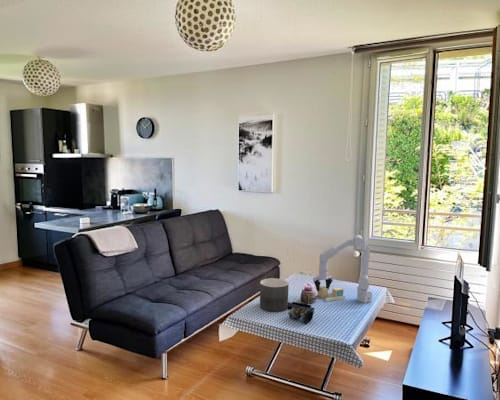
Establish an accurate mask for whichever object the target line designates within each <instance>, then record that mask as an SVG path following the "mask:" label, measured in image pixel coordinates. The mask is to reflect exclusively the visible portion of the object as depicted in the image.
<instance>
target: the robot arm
mask: <svg viewBox="0 0 500 400" xmlns="http://www.w3.org/2000/svg"><path fill="white" fill-rule="evenodd" d="M348 247H357V248H359V249H360V250H361V251H362V252H361V263H360V273H359V277H358V279H357V282H358V283H357V284H358V286H357V288H356V289H357V290H356V291H357V293H356V300H357V301H358V302H362V303H363V304H369V303H372V301H373V293H372V291H371V290H370V288H369V287H370V284H369V282H368V281H369V276H368V275H369V264H370V254H371V248H370V246H369V244H368V242H367V241H366V239H365V238H364V237H363V236H362V235H361V234H355V235H354V236H351V237H350V238H348V239H346V240H345V241H343V242H342V243H341V244H339V245H337V246H330V247H329V248H328V249H327V250H324V251H323V252H321V253H320V254H319V266H318V267H319V268H318V276H315V277H313V283H314V286H315V287H316V288H315V289H316V291H317V292H318V291H319V289H320V286H321V284H322V283H321V281H324V280H325V287H326V288H328V291H329V290H330V286H331V284H332V283H333V279H334V277H333V275H329V271H328V270H329V263H328V261H329V260H330V259H332V258H334V257H336V256H337V255H339V254H340V253H339V252H340V251H342V250H344V249H346V248H348Z"/></svg>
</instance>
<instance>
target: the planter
mask: <svg viewBox="0 0 500 400" xmlns="http://www.w3.org/2000/svg"><path fill="white" fill-rule="evenodd" d="M259 285H260V286H259V308H260V309H261V310H263V311H265V312H271V313H277V312H278V313H279V312H284V311H286V310H287V309H288V307H289V306H288V305H289V281H287V280H286V279H283V278H277V277H276V278H274V277H271V278H264V279H261V280H260V281H259Z"/></svg>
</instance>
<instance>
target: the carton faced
mask: <svg viewBox="0 0 500 400" xmlns="http://www.w3.org/2000/svg"><path fill="white" fill-rule="evenodd" d="M331 291H332V292H331V293H332V297H338V296H344V288H342V287H334V288H332V290H331Z"/></svg>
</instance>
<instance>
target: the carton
mask: <svg viewBox="0 0 500 400" xmlns="http://www.w3.org/2000/svg"><path fill="white" fill-rule="evenodd" d="M328 294H329V290H328V288H326V286H324V285H320V289H319V291H317V295H318V296H320V297H322V298H327V297H328Z"/></svg>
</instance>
